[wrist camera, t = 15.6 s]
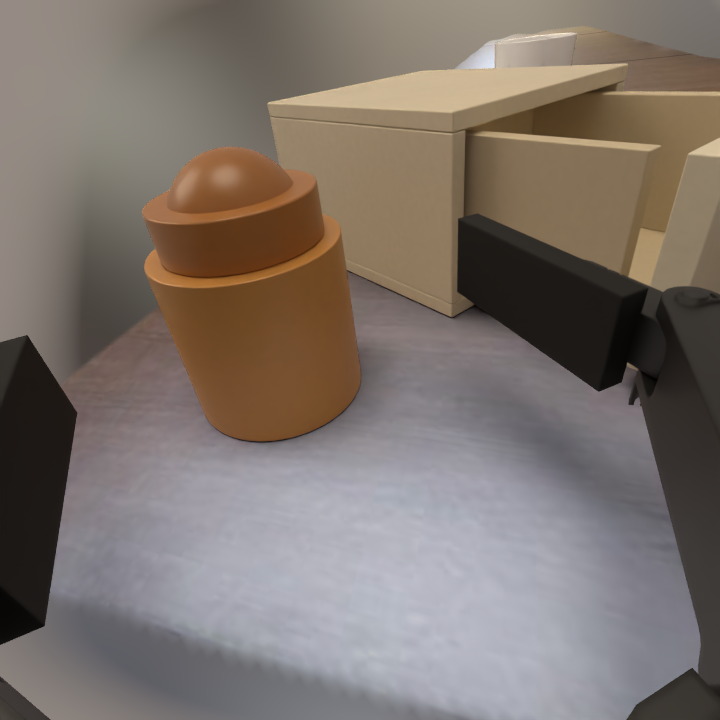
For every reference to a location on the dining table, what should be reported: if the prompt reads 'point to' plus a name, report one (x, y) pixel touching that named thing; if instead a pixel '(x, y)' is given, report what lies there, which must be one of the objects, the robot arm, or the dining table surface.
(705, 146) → the drawer
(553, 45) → the white cup
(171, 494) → the dining table surface
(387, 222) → the cabinet
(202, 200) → the orange dome-capped jar
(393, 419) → the dining table surface
